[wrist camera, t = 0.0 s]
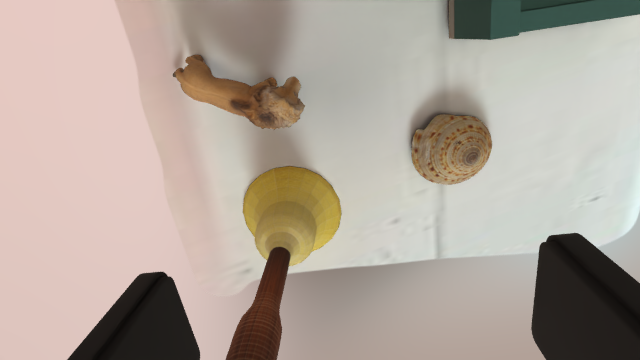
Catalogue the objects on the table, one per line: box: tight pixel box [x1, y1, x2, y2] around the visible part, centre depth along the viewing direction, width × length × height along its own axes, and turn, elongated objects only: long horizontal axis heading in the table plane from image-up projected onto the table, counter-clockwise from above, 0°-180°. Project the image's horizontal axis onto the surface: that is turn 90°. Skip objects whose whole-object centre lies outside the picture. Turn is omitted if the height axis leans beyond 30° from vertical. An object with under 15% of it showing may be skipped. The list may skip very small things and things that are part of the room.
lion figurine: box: [173, 55, 305, 130], centre depth 34 cm, size 15×5×9 cm, turn 82°
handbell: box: [226, 166, 341, 360], centre depth 32 cm, size 12×12×25 cm
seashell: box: [412, 114, 492, 185], centre depth 38 cm, size 8×6×8 cm
